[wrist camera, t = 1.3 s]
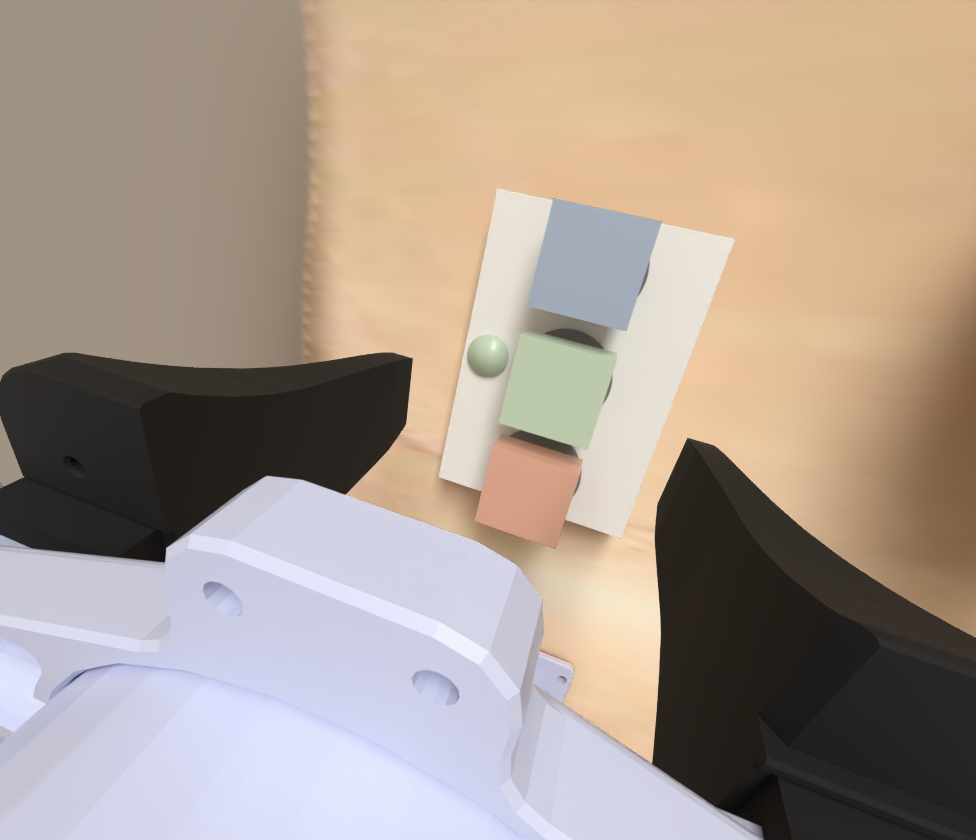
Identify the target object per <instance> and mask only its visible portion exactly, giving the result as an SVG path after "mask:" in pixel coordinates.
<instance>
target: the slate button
mask: <svg viewBox="0 0 976 840" xmlns="http://www.w3.org/2000/svg"><path fill="white" fill-rule="evenodd" d="M661 223H662V221H658V220H653V219H649V218H644V217H639V216H635V215H630V214H625V213H620V212H616V211H611V210H606V209H602V208H597V207H592V206H587V205H583V204H578V203H573V202H569V201H564V200H559V199H554V198H553V202H552V206H551V210H550V214H549V218H548V222H547V227H546V231H545V235H544V239H543V243H542V247H541V251H540V255H539V259H538V263H537V267H536V272H535V276H534V280H533V284H532V288H531V292H530V296H529V300H528V304H527V306H529V307H533V308H537V309H541V310H545V311H548V312H552V313H556V314H560V315H564V316H568V317H572V318H576V319H580V320H583V321H587V322H591V323H595V324H599V325H603V326H607V327H611V328H615V329H618V330H622V331H627V328H628V325H629V322H630V319H631V316H632V312H633V309H634V306H635V303H636V300H637V297H638V294H639V291H640V288H641V285H642V282H643V279H644V276H645V272H646V269H647V266H648V263H649V260H650V257H651V254H652V251H653V248H654V245H655V242H656V239H657V236H658V232H659V229H660V226H661Z"/></svg>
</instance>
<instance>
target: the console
mask: <svg viewBox="0 0 976 840" xmlns="http://www.w3.org/2000/svg"><path fill="white" fill-rule="evenodd" d="M552 202H553V200H549V199H544V198H540V197H535V196H530V195H526V194H521V193H516V192H512V191H507V190H502V189H497V193H496V198H495V203H494V208H493V213H492V218H491V223H490V228H489V233H488V237H487V242H486V247H485V252H484V257H483V262H482V267H481V272H480V277H479V281H478V286H477V291H476V296H475V301H474V306H473V311H472V316H471V321H470V325H469V330H468V335H467V340H466V345H465V350H464V355H463V360H462V365H461V369H460V374H459V379H458V384H457V389H456V394H455V399H454V404H453V409H452V413H451V418H450V423H449V428H448V433H447V438H446V443H445V448H444V453H443V457H442V462H441V467H440V472H439V477H440V478H443V479H446V480H449V481H452V482H455V483H458V484H461V485H463V486H466V487H469V488H472V489H475V490H478V491H481V492H482V488H483V484H484V480H485V476H486V472H487V468H488V464H489V460H490V455H491V451H492V447H493V445H494V444H495V443H496V441H497V440H498V439H499V437H500V436H501V434H503V435H506V436H509V437H513V438H516V439H519V440H522V441H525V442H529V443H532V444H535V445H538V446H542V447H545V448H548V449H551V450H554V451H558V452H561V453H564V454H567V455H570V456H574V457H577V458H580V459H583V462H582V467H581V472H580V476H579V479H578V482H577V485H576V488H575V491H574V494H573V497H572V500H571V503H570V506H569V509H568V513H567V516H566V519H565V520H567V521H570V522H573V523H576V524H579V525H582V526H585V527H588V528H591V529H594V530H597V531H600V532H603V533H606V534H609V535H612V536H615V537H618V538H621V537H622V535H623V532H624V529H625V527H626V524H627V521H628V519H629V516H630V514H631V511H632V508H633V506H634V503H635V500H636V498H637V495H638V493H639V490H640V487H641V485H642V482H643V479H644V477H645V474H646V472H647V469H648V466H649V464H650V461H651V458H652V456H653V453H654V451H655V448H656V445H657V443H658V440H659V437H660V435H661V432H662V429H663V427H664V424H665V422H666V419H667V416H668V414H669V411H670V408H671V406H672V403H673V401H674V398H675V395H676V393H677V390H678V387H679V385H680V382H681V380H682V377H683V374H684V372H685V369H686V366H687V364H688V361H689V359H690V356H691V353H692V351H693V348H694V345H695V343H696V340H697V338H698V335H699V332H700V330H701V327H702V324H703V322H704V319H705V317H706V314H707V311H708V309H709V306H710V303H711V301H712V298H713V296H714V293H715V290H716V288H717V285H718V282H719V280H720V277H721V275H722V272H723V269H724V267H725V264H726V261H727V259H728V256H729V254H730V251H731V248H732V246H733V243H734V240H735V239H732V238H728V237H723V236H718V235H714V234H709V233H704V232H700V231H695V230H690V229H685V228H681V227H676V226H671V225H667V224H662V223H661V226H660V229H659V232H658V236H657V239H656V242H655V245H654V248H653V251H652V254H651V257H650V260H649V263H648V266H647V269H646V272H645V276H644V279H643V282H642V285H641V288H640V291H639V294H638V297H637V300H636V303H635V306H634V309H633V312H632V316H631V319H630V322H629V325H628V328H627V331H622V330H618V329H615V328H611V327H607V326H603V325H599V324H595V323H591V322H587V321H583V320H580V319H576V318H572V317H568V316H564V315H560V314H556V313H552V312H548V311H545V310H541V309H537V308H533V307H529V306H527V304H528V300H529V296H530V292H531V288H532V284H533V280H534V276H535V272H536V267H537V263H538V259H539V255H540V251H541V247H542V243H543V239H544V235H545V231H546V227H547V222H548V218H549V214H550V210H551V206H552ZM528 329H529V330H532V331H536V332H540V333H544V334H547V335H551V336H555V337H559V338H562V339H566V340H570V341H574V342H577V343H581V344H585V345H589V346H592V347H596V348H600V349H604V350H608V351H611V352H615V353H617V362H616V365H615V368H614V371H613V374H612V377H611V380H610V383H609V386H608V389H607V393H606V396H605V399H604V402H603V405H602V408H601V411H600V414H599V417H598V420H597V423H596V426H595V429H594V433H593V436H592V439H591V442H590V445H589V448H588V450H585V449H582V448H578V447H575V446H572V445H569V444H565V443H562V442H559V441H555V440H552V439H549V438H546V437H542V436H539V435H536V434H533V433H529V432H526V431H523V430H520V429H516V428H513V427H510V426H507V425H503V424H500V423H499V419H500V415H501V411H502V406H503V402H504V398H505V394H506V390H507V386H508V382H509V378H510V374H511V370H512V366H513V361H514V357H515V353H516V349H517V345H518V341H519V337H520V334H521V333H523V332H524V331H526V330H528Z"/></svg>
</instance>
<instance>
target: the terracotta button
mask: <svg viewBox="0 0 976 840" xmlns="http://www.w3.org/2000/svg"><path fill="white" fill-rule="evenodd" d="M582 462H583V459H580V458H577V457H574V456H570V455H567V454H564V453H561V452H558V451H554V450H551V449H548V448H545V447H542V446H538V445H535V444H532V443H529V442H525V441H522V440H519V439H516V438H513V437H509V436H506V435H503V434H501V436H500V437H499V439H498V440H497V441H496V443H495V444H494V445H493V447H492V451H491V455H490V460H489V464H488V468H487V472H486V476H485V480H484V484H483V488H482V492H481V496H480V500H479V505H478V509H477V513H476V517H475V522H478V523H481V524H484V525H487V526H490V527H492V528H495V529H498V530H501V531H504V532H507V533H510V534H512V535H515V536H518V537H521V538H524V539H527V540H530V541H532V542H535V543H538V544H541V545H544V546H547V547H550V548H553V549H556V546H557V543H558V540H559V537H560V534H561V531H562V528H563V525H564V522H565V519H566V516H567V513H568V509H569V506H570V503H571V500H572V497H573V494H574V491H575V488H576V485H577V482H578V479H579V476H580V472H581V467H582Z"/></svg>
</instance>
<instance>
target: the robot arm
mask: <svg viewBox="0 0 976 840" xmlns="http://www.w3.org/2000/svg"><path fill="white" fill-rule="evenodd" d="M412 361H413V358H409V357H406V356H402V355H399V354H395V353H374V354H367V355H361V356H354V357H348V358H342V359H336V360H330V361H323V362H316V363H308V364H301V365H293V366H283V367H270V368H249V369H248V368H247V369H246V368H245V369H235V368H194V367H180V366H167V365H157V364H147V363H139V362H131V361H124V360H118V359H111V358H105V357H97V356H91V355H85V354H79V353H63V354H59V355H55V356H52V357H48V358H45V359H42V360H38V361H35V362H31V363H27V364H24V365H20V366H17V367H14V368H11V369H10V370H9V371H7V372H6V373H5V374H4V375H3V376H2V379H1V381H0V416H1V420H2V423H3V425H4V428H5V430H6V433H7V436H8V438H9V441H10V443H11V446H12V448H13V451H14V454H15V456H16V458H17V461H18V464H19V466H20V469H21V472H22V474H23V476H25V477H24V478H22V479H19V480H17V481H15V482H13V483H11V484H9V485H7V486H4V487H3V485H2V484H1V483H0V840H976V638H975V637H973V636H971V635H969V634H967V633H965V632H963V631H961V630H960V629H958V628H956V627H954V626H952V625H950V624H949V623H947V622H945V621H943V620H942V619H940V618H938V617H936V616H934V615H933V614H931V613H929V612H927V611H925V610H924V609H922V608H920V607H918V606H916V605H915V604H913V603H911V602H910V601H908V600H906V599H905V598H903V597H901V596H900V595H898V594H896V593H895V592H893V591H891V590H890V589H888V588H887V587H885V586H883V585H882V584H880V583H879V582H877V581H876V580H874V579H873V578H871V577H870V576H868V575H867V574H865V573H863V572H862V571H860V570H859V569H857V568H856V567H854V566H853V565H851V564H850V563H848V562H847V561H846V560H844V559H843V558H841V557H840V556H838V555H837V554H836V553H834V552H833V551H832V550H830V549H829V548H828V547H826V546H825V545H824V544H822V543H821V542H820V541H819V540H817V539H816V538H815V537H813V536H812V535H811V534H809V533H808V532H807V531H806V530H804V529H803V528H802V527H801V526H800V525H798V524H797V523H796V522H795V521H794V520H793V519H791V518H790V517H789V516H788V515H787V514H786V513H785V512H784V511H782V510H781V509H780V508H779V507H778V506H777V505H776V504H775V503H774V502H772V501H771V500H770V499H769V498H768V497H767V496H766V495H765V494H764V493H763V492H762V491H761V490H760V489H759V488H758V487H757V486H756V485H755V484H754V483H753V482H752V481H751V480H750V479H749V478H748V477H747V476H746V475H745V474H744V473H743V472H742V471H741V470H740V469H739V468H738V467H737V466H736V465H735V464H734V463H733V462H732V461H731V460H730V459H729V458H728V457H727V456H726V455H725V454H724V453H723V452H721V451H720V450H719V449H718V448H717V447H715V446H714V445H710V444H707V443H703V442H700V441H696V440H693V439H690V438H687V440H686V442H685V445H684V447H683V449H682V451H681V453H680V456H679V458H678V460H677V462H676V464H675V467H674V469H673V471H672V473H671V476H670V478H669V480H668V482H667V484H666V487H665V489H664V491H663V493H662V495H661V498H660V500H659V502H658V505H657V515H656V526H655V550H656V565H657V577H658V590H659V603H660V617H661V645H660V668H659V685H658V700H657V715H656V727H655V739H654V750H653V761H652V764H651V763H650V762H648V761H647V760H645V759H644V758H643V757H641V756H640V755H638V754H637V753H635V752H634V751H632V750H631V749H629V748H628V747H626V746H625V745H623V744H622V743H620V742H619V741H617V740H616V739H615V738H613V737H612V736H610V735H609V734H607V733H606V732H604V731H603V730H601V729H600V728H598V727H597V726H595V725H594V724H592V723H591V722H589V721H588V720H587V719H585V718H584V717H582V716H581V715H579V714H578V713H576V712H575V711H573V710H572V709H570V708H569V707H567V706H566V705H564V704H563V702H564V699H565V697H566V694H567V691H568V689H569V686H570V684H571V681H572V679H573V675H574V667H573V666H572V665H571V664H570V663H568V662H566V661H564V660H561V659H559V658H556V657H553V656H551V655H548V654H546V653H543V652H541V651H540V647H541V642H542V638H543V633H544V630H543V603H542V599H541V597H540V596H539V594H538V593H537V592H536V590H535V589H534V587H533V586H532V585H531V583H530V582H529V581H528V579H527V578H526V576H525V575H524V574H523V572H522V571H521V569H520V568H519V567H518V565H516V564H514V563H513V562H511V561H509V560H508V559H506V558H504V557H502V556H501V555H499V554H497V553H496V552H494V551H492V550H491V549H489V548H487V547H485V546H484V545H482V544H480V543H479V542H477V541H474V540H471V539H468V538H466V537H463V536H460V535H457V534H454V533H451V532H449V531H446V530H443V529H440V528H437V527H434V526H432V525H429V524H426V523H423V522H420V521H417V520H415V519H412V518H409V517H406V516H403V515H400V514H398V513H395V512H392V511H389V510H386V509H383V508H381V507H378V506H375V505H372V504H369V503H366V502H364V501H361V500H358V499H355V498H352V497H349V496H347V495H346V494H347V493H348V492H349V491H350V489H351V488H352V487H353V486H354V485H355V484H356V483H357V482H358V481H359V480H360V479H361V478H362V477H363V476H364V475H365V474H366V473H367V472H368V471H369V470H370V469H371V468H372V467H373V466H374V465H375V464H376V463H377V462H378V461H379V459H380V458H381V457H382V456H383V455H384V454H385V453H386V452H387V451H388V450H389V448H390V447H391V446H392V444H393V443H394V442H395V440H396V439H397V437H398V436H399V434H400V433H401V431H402V430H403V428H404V427H405V425H406V420H407V410H408V400H409V390H410V381H411V371H412ZM560 676H563V677H565V678H561V677H560Z"/></svg>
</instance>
